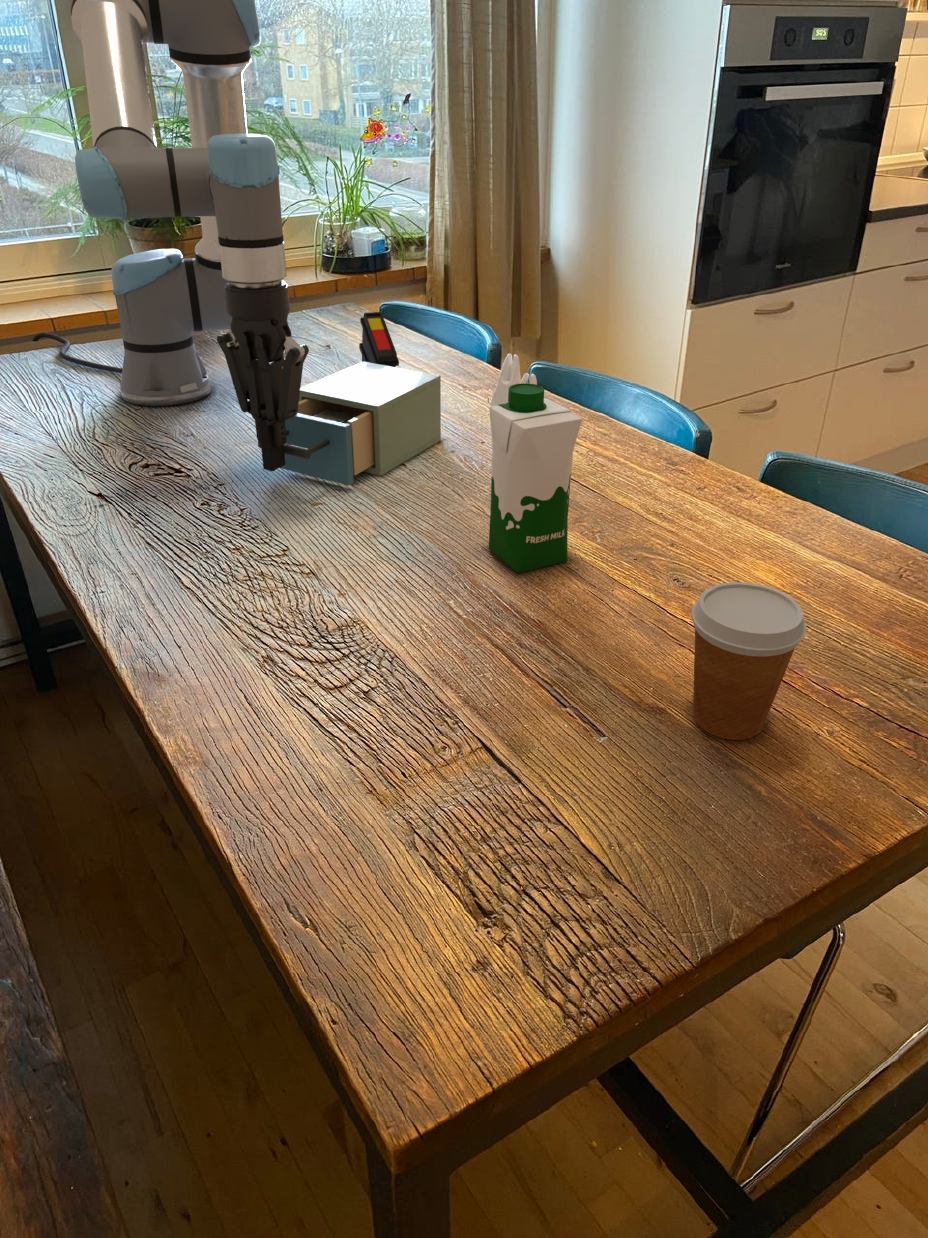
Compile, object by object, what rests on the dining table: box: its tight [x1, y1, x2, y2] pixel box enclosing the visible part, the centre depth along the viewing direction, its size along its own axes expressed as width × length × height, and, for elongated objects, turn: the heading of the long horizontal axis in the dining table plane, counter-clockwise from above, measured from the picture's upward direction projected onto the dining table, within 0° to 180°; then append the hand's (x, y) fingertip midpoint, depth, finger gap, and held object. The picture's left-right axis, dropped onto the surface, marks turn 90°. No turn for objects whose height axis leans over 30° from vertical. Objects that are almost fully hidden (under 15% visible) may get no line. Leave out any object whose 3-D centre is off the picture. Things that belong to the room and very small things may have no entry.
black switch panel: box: [358, 311, 400, 367], centre depth 155 cm, size 4×13×15 cm, turn 19°
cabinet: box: [299, 361, 442, 477], centre depth 138 cm, size 17×14×10 cm
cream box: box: [313, 409, 358, 424], centre depth 132 cm, size 8×6×5 cm
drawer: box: [257, 398, 375, 486], centre depth 130 cm, size 21×13×8 cm, turn 150°
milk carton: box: [488, 383, 583, 574], centre depth 106 cm, size 9×9×20 cm
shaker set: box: [489, 353, 538, 407], centre depth 147 cm, size 12×4×11 cm, turn 22°
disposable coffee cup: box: [691, 581, 807, 741], centre depth 81 cm, size 10×10×12 cm
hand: (274, 466), depth 121 cm, fingers closed
